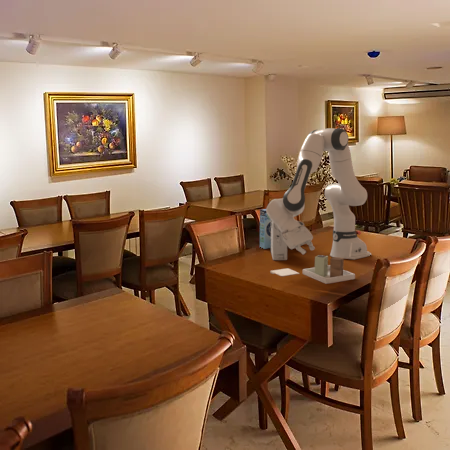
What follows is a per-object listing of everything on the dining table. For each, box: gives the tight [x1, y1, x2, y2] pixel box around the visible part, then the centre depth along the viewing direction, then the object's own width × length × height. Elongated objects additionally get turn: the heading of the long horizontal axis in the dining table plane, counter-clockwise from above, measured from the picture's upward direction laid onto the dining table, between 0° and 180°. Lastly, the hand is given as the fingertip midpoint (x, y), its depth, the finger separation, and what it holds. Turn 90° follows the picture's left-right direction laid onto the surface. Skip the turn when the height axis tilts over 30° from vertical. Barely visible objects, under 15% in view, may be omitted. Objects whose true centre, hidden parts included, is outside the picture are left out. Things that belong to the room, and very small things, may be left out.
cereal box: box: [270, 220, 288, 261], centre depth 274 cm, size 22×8×25 cm, turn 178°
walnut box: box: [329, 257, 345, 278], centre depth 229 cm, size 4×4×9 cm
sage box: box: [314, 254, 329, 277], centre depth 233 cm, size 4×4×9 cm
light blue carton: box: [259, 208, 271, 250], centre depth 296 cm, size 20×5×23 cm, turn 124°
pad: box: [269, 268, 300, 277], centre depth 239 cm, size 10×10×1 cm
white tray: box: [302, 264, 356, 285], centre depth 232 cm, size 16×18×3 cm
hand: (309, 251), depth 235 cm, fingers open, 8 cm apart
